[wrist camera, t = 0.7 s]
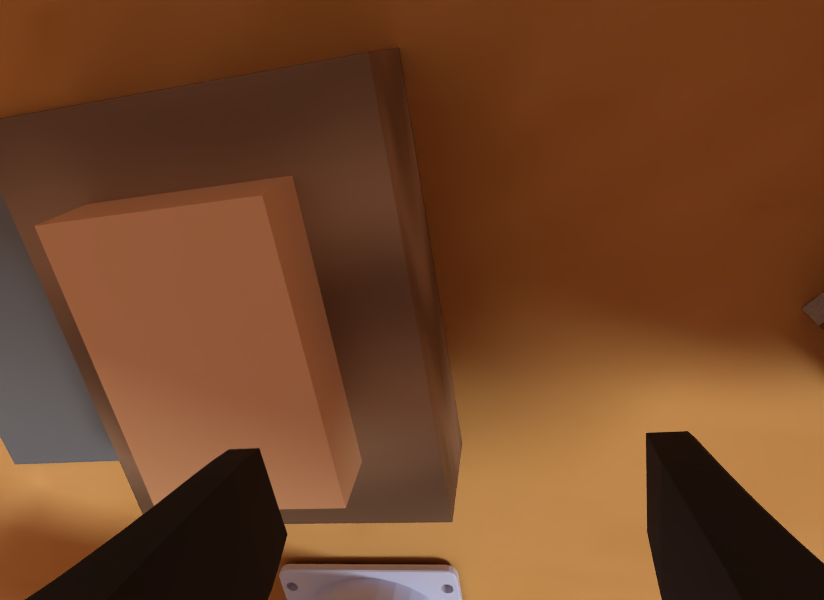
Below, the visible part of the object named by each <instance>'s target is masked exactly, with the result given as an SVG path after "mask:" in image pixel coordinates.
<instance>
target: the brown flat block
mask: <svg viewBox="0 0 824 600" xmlns="http://www.w3.org/2000/svg"><path fill="white" fill-rule="evenodd" d="M285 176H293V180H294V184H295V189H296V193H297V197H298V201H299V205H300V209H301V213H302V217H303V221H304V226H305V230H306V234H307V238H308V242H309V246H310V250H311V254H312V258H313V263H314V267H315V271H316V275H317V279H318V283H319V287H320V291H321V295H322V300H323V304H324V308H325V312H326V316H327V320H328V324H329V328H330V332H331V337H332V341H333V345H334V349H335V353H336V357H337V361H338V365H339V369H340V373H341V378H342V382H343V386H344V390H345V394H346V398H347V402H348V406H349V410H350V415H351V419H352V423H353V427H354V431H355V435H356V439H357V443H358V447H359V452H360V456H361V460H362V463H361V466H360V469H359V471H358V474H357V477H356V480H355V483H354V486H353V489H352V491H351V494H350V497H349V500H348V503H347V506H346V508H333V509H279V510H280V513H281V516H282V519H283V523H284V524H315V523H415V522H452V521H453V513H454V505H455V496H456V488H457V480H458V472H459V464H460V456H461V448H462V440H461V434H460V427H459V421H458V415H457V409H456V402H455V396H454V390H453V384H452V377H451V371H450V365H449V359H448V352H447V346H446V340H445V333H444V327H443V321H442V315H441V308H440V302H439V296H438V290H437V283H436V277H435V271H434V265H433V258H432V252H431V246H430V239H429V233H428V227H427V221H426V214H425V208H424V202H423V196H422V189H421V183H420V177H419V171H418V164H417V158H416V152H415V145H414V139H413V133H412V127H411V120H410V114H409V108H408V102H407V95H406V89H405V83H404V77H403V70H402V64H401V58H400V51H399V48H393V49H387V50H380V51H374V52H368V53H362V54H357V55H351V56H346V57H340V58H334V59H329V60H323V61H318V62H312V63H307V64H301V65H296V66H290V67H285V68H279V69H273V70H268V71H262V72H257V73H251V74H246V75H240V76H235V77H229V78H224V79H218V80H212V81H207V82H201V83H196V84H190V85H185V86H179V87H174V88H168V89H163V90H157V91H151V92H146V93H140V94H135V95H129V96H124V97H118V98H113V99H107V100H102V101H96V102H90V103H85V104H79V105H74V106H68V107H63V108H57V109H52V110H46V111H41V112H35V113H29V114H24V115H18V116H13V117H7V118H2V119H0V191H1V193H2V196H3V198H4V200H5V202H6V205H7V207H8V209H9V211H10V214H11V216H12V218H13V221H14V223H15V225H16V227H17V230H18V232H19V234H20V236H21V239H22V241H23V243H24V246H25V248H26V250H27V252H28V255H29V257H30V259H31V261H32V264H33V266H34V268H35V271H36V273H37V275H38V277H39V280H40V282H41V284H42V286H43V289H44V291H45V293H46V295H47V298H48V300H49V302H50V305H51V307H52V309H53V311H54V314H55V316H56V318H57V320H58V323H59V325H60V327H61V330H62V332H63V334H64V336H65V339H66V341H67V343H68V345H69V348H70V350H71V352H72V355H73V357H74V359H75V361H76V364H77V366H78V368H79V370H80V373H81V375H82V377H83V380H84V382H85V384H86V386H87V389H88V391H89V393H90V395H91V398H92V400H93V402H94V404H95V407H96V409H97V411H98V414H99V416H100V418H101V420H102V423H103V425H104V427H105V429H106V432H107V434H108V436H109V439H110V441H111V443H112V445H113V448H114V450H115V452H116V454H117V457H118V459H119V461H120V464H121V466H122V468H123V470H124V473H125V475H126V477H127V479H128V482H129V484H130V486H131V489H132V491H133V493H134V495H135V498H136V500H137V502H138V504H139V507H140V509H141V511H142V513H143V514H144V513H146V512H147V511H148V510H149V509H151V508H152V507H153V506H154V505H153V502H152V500H151V498H150V495H149V493H148V491H147V488H146V486H145V484H144V481H143V479H142V477H141V474H140V472H139V470H138V467H137V465H136V463H135V460H134V458H133V456H132V453H131V451H130V449H129V446H128V444H127V442H126V439H125V437H124V435H123V432H122V430H121V428H120V425H119V423H118V421H117V418H116V416H115V414H114V411H113V409H112V407H111V404H110V402H109V400H108V397H107V395H106V393H105V390H104V388H103V386H102V383H101V381H100V379H99V376H98V374H97V371H96V369H95V367H94V364H93V362H92V360H91V357H90V355H89V353H88V350H87V348H86V346H85V343H84V341H83V339H82V336H81V334H80V332H79V329H78V327H77V325H76V322H75V320H74V318H73V315H72V313H71V311H70V308H69V306H68V304H67V301H66V299H65V297H64V294H63V292H62V290H61V287H60V285H59V283H58V280H57V278H56V276H55V273H54V271H53V269H52V266H51V264H50V262H49V259H48V257H47V255H46V252H45V250H44V248H43V245H42V243H41V241H40V238H39V236H38V234H37V231H36V229H35V227H34V226H35V225H37V224H40V223H42V222H45V221H47V220H50V219H52V218H55V217H57V216H59V215H62V214H64V213H67V212H69V211H72V210H74V209H77V208H79V207H81V206H84V205H86V204H91V203H99V202H106V201H113V200H120V199H127V198H134V197H142V196H149V195H156V194H163V193H170V192H177V191H185V190H192V189H199V188H206V187H213V186H220V185H228V184H235V183H242V182H249V181H256V180H263V179H270V178H278V177H285Z"/></svg>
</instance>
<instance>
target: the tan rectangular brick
mask: <svg viewBox="0 0 824 600" xmlns="http://www.w3.org/2000/svg"><path fill="white" fill-rule="evenodd" d="M34 227H35V229H36V231H37V234H38V236H39V238H40V241H41V243H42V245H43V248H44V250H45V252H46V255H47V257H48V259H49V262H50V264H51V266H52V269H53V271H54V273H55V276H56V278H57V280H58V283H59V285H60V287H61V290H62V292H63V294H64V297H65V299H66V301H67V304H68V306H69V308H70V311H71V313H72V315H73V318H74V320H75V322H76V325H77V327H78V329H79V332H80V334H81V336H82V339H83V341H84V343H85V346H86V348H87V350H88V353H89V355H90V357H91V360H92V362H93V364H94V367H95V369H96V371H97V374H98V376H99V379H100V381H101V383H102V386H103V388H104V390H105V393H106V395H107V397H108V400H109V402H110V404H111V407H112V409H113V411H114V414H115V416H116V418H117V421H118V423H119V425H120V428H121V430H122V432H123V435H124V437H125V439H126V442H127V444H128V446H129V449H130V451H131V453H132V456H133V458H134V460H135V463H136V465H137V467H138V470H139V472H140V474H141V477H142V479H143V481H144V484H145V486H146V488H147V491H148V493H149V495H150V498H151V500H152V502H153V505H154V506H155V505H156V504H157V503H158V502H160V501H161V500H162V499H164V498H165V497H166V496H167V495H169V494H170V493H171V492H172V491H174V490H175V489H176V488H178V487H179V486H180V485H181V484H183V483H184V482H185V481H186V480H188V479H189V478H190V477H192V476H193V475H194V474H195V473H197V472H198V471H199V470H201V469H202V468H203V467H205V466H206V465H207V464H209V463H210V462H211V461H213V460H214V459H215V458H217V457H218V456H220V455H221V454H223V453H224V452H226V451H227V450H228V449H249V448H260V451H261V455H262V458H263V461H264V464H265V467H266V470H267V473H268V476H269V479H270V482H271V485H272V489H273V492H274V495H275V498H276V501H277V504H278V507H279V509H333V508H346V506H347V503H348V500H349V497H350V494H351V491H352V489H353V486H354V483H355V480H356V477H357V474H358V471H359V469H360V466H361V463H362V460H361V456H360V452H359V447H358V443H357V439H356V435H355V431H354V427H353V423H352V419H351V415H350V410H349V406H348V402H347V398H346V394H345V390H344V386H343V382H342V378H341V373H340V369H339V365H338V361H337V357H336V353H335V349H334V345H333V341H332V337H331V332H330V328H329V324H328V320H327V316H326V312H325V308H324V304H323V300H322V295H321V291H320V287H319V283H318V279H317V275H316V271H315V267H314V263H313V258H312V254H311V250H310V246H309V242H308V238H307V234H306V230H305V226H304V221H303V217H302V213H301V209H300V205H299V201H298V197H297V193H296V189H295V184H294V180H293V176H285V177H278V178H270V179H263V180H256V181H249V182H242V183H235V184H228V185H220V186H213V187H206V188H199V189H192V190H185V191H177V192H170V193H163V194H156V195H149V196H142V197H134V198H127V199H120V200H113V201H106V202H99V203H91V204H86V205H84V206H81V207H79V208H77V209H74V210H72V211H69V212H67V213H64V214H62V215H59V216H57V217H55V218H52V219H50V220H47V221H45V222H42V223H40V224H37V225H35V226H34Z"/></svg>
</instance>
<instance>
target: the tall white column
mask: <svg viewBox="0 0 824 600" xmlns="http://www.w3.org/2000/svg"><path fill="white" fill-rule="evenodd" d="M802 310H803V311H804V312H805V313H806V314H807V315H808V316H809V317H810V318H811V319H812V320H813V321H814V322H815V323H817V324H818V325H819V326H820V327H821V328H822V329H823V330H824V292H823V293H821V294H820V295H819V296H817V297H816V298H815V299H813V300H812V301H811V302H809V303H808V304H807V305H806V306H804V307H803V308H802Z"/></svg>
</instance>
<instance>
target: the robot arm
mask: <svg viewBox="0 0 824 600" xmlns="http://www.w3.org/2000/svg"><path fill="white" fill-rule="evenodd" d="M646 469H647V533H648V538H649V543H650V547H651V552H652V557H653V562H654V567H655V571H656V576H657V580H658V585H659V589H660V594H661V598H662V600H824V563H823V562H821V561H820V560H819V559H818V558H817V557H816V556H815V555H814V554H812V553H811V552H810V551H809V550H808V549H807V548H806V547H805V546H803V545H802V544H801V543H800V542H799V541H798V540H797V539H796V538H795V537H794V536H793V535H791V534H790V533H789V532H788V531H787V530H786V529H785V528H784V527H783V526H782V525H781V524H780V523H779V522H778V521H777V520H776V519H774V518H773V517H772V516H771V515H770V514H769V513H768V512H767V511H766V510H765V509H764V508H763V507H762V506H761V505H760V504H759V503H758V502H757V501H756V500H755V499H754V498H753V497H752V496H751V495H750V494H748V493H747V492H746V491H745V489H744V488H743V487H742V486H741V485H740V484H739V483H738V482H737V481H736V480H735V479H734V478H733V477H732V476H731V475H730V474H729V473H728V472H727V471H726V470H725V469H724V468H723V467H722V466H721V465H720V464H719V463H718V462H717V461H716V460H715V459H714V457H713V456H712V455H711V454H710V453H709V452H708V451H707V450H706V449H705V448H704V447H703V446H702V445H701V443H700V442H699V441H698V440H697V439H696V438H695V437H694V436H693V435H691V434H690V433H689V432H688V431H684V432H658V433H646ZM286 537H287V532H286V529H285V526H284V523H283V519H282V516H281V513H280V510H279V507H278V504H277V501H276V498H275V495H274V492H273V489H272V485H271V482H270V479H269V476H268V473H267V470H266V467H265V464H264V461H263V458H262V455H261V451H260V448H249V449H228V450H227V451H226V452H224V453H223V454H221V455H220V456H218V457H217V458H215V459H214V460H213V461H211V462H210V463H209V464H207V465H206V466H205V467H203V468H202V469H201V470H199V471H198V472H197V473H195V474H194V475H193V476H192V477H190V478H189V479H188V480H186V481H185V482H184V483H183V484H181V485H180V486H179V487H178V488H176V489H175V490H174V491H172V492H171V493H170V494H169V495H167V496H166V497H165V498H164V499H162V500H161V501H160V502H158V503H157V504H156V505H155V506H153V507H152V508H151V509H149V510H148V511H147V512H146V513H144V514H143V515H142V516H141V517H139V518H138V519H137V520H135V521H134V522H133V523H132V524H130V525H129V526H128V527H126V528H125V529H124V530H122V531H121V532H120V533H118V534H117V535H116V536H114V537H113V538H112V539H110V540H109V541H107V542H106V543H105V544H103V545H102V546H101V547H99V548H98V549H97V550H95V551H94V552H92V553H91V554H90V555H88V556H87V557H86V558H84V559H83V560H82V561H80V562H79V563H77V564H76V565H75V566H73V567H72V568H71V569H69V570H68V571H67V572H65V573H64V574H62V575H61V576H59V577H58V578H57V579H55V580H54V581H52V582H51V583H49V584H48V585H46V586H45V587H43V588H42V589H40V590H39V591H37V592H36V593H34V594H33V595H31V596H30V597H28V598H27V599H25V600H268V597H269V595H270V592H271V590H272V587H273V583H274V580H275V577H276V574H277V570H278V567H279V564H280V560H281V556H282V552H283V549H284V545H285V541H286ZM279 578H280V581H281V584H282V587H283V590H284V593H285V596H286V599H287V600H463V598H462V592H461V587H460V581H459V576H458V572H457V570H456V569H455V568H454V567H452V566H450V565H416V564H286V565H284V566H283V567H282V569H281V571H280V573H279ZM445 584H447V585H445Z"/></svg>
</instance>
